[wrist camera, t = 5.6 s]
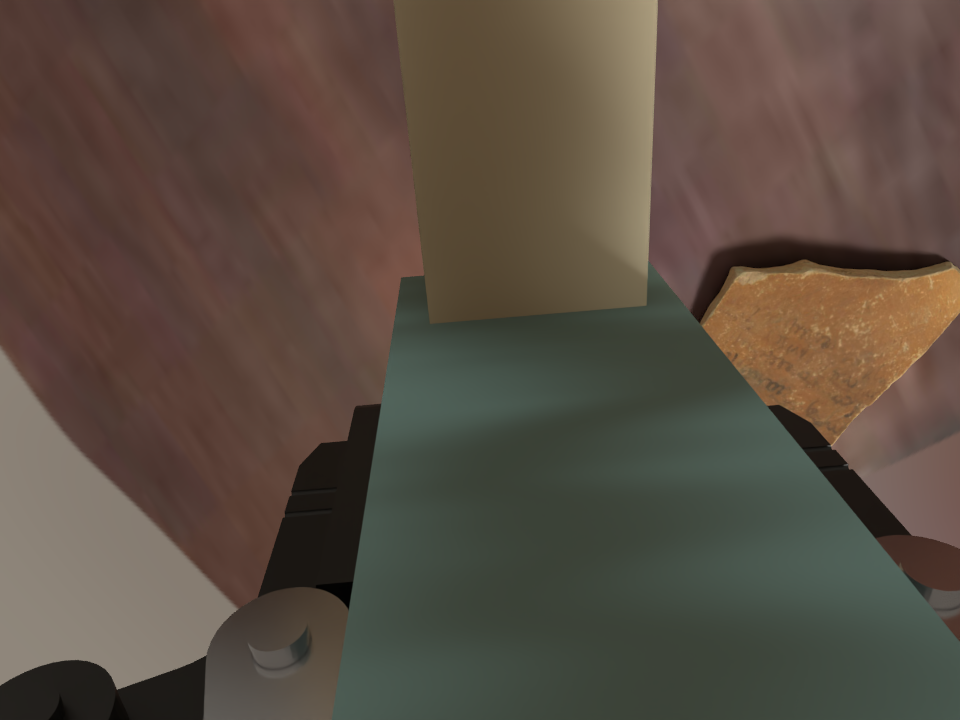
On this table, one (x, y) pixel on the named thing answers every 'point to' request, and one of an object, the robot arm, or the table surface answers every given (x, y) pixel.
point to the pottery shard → (829, 332)
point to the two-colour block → (591, 433)
